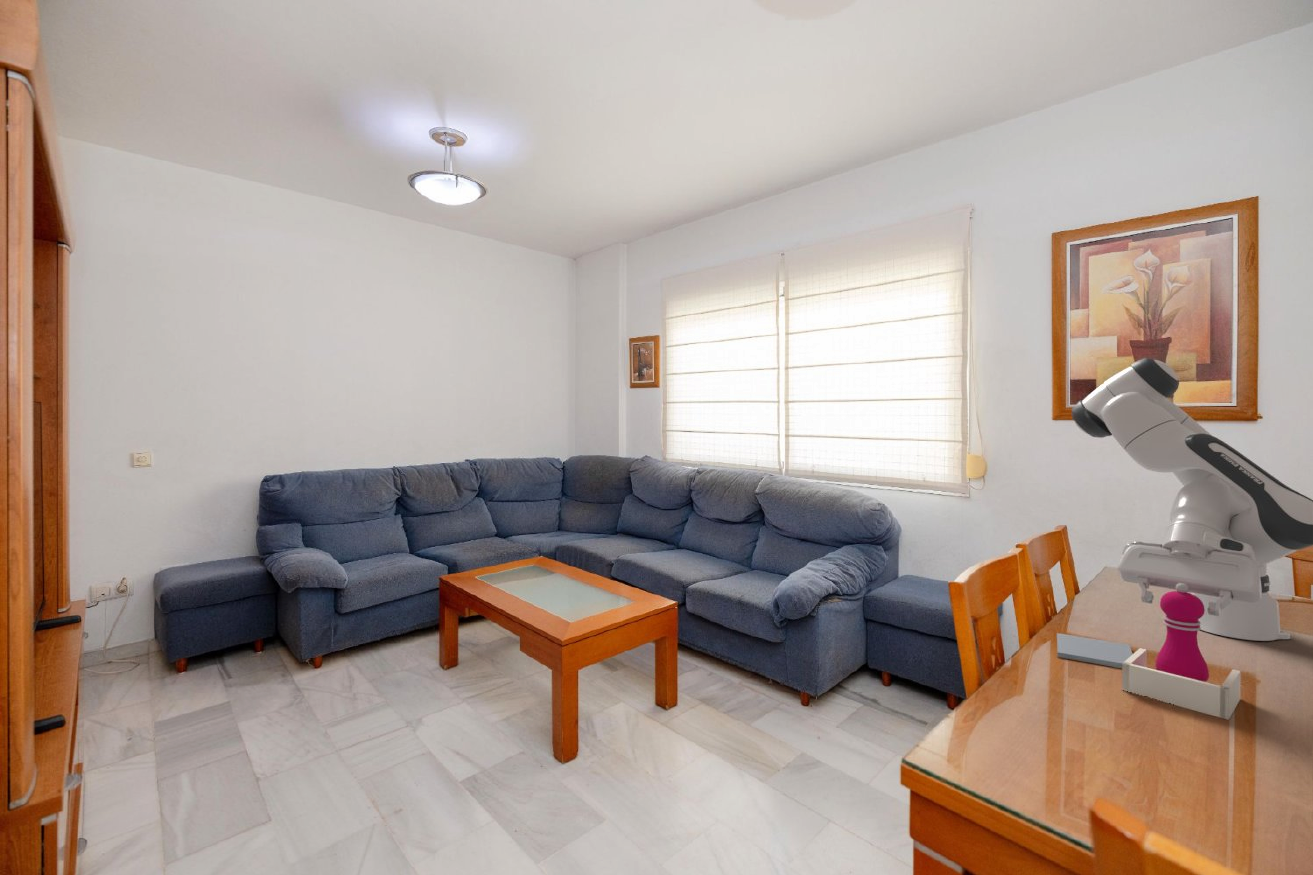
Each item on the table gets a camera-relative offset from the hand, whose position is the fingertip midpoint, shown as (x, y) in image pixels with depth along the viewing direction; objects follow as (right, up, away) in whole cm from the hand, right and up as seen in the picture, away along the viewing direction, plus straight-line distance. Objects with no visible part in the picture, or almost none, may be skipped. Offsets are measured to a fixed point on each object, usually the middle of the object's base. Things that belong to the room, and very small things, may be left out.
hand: (1178, 607), depth 108 cm
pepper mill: (-2, -15, -3) cm, 15 cm away
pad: (-3, -15, +17) cm, 22 cm away
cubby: (-2, -15, -3) cm, 15 cm away
